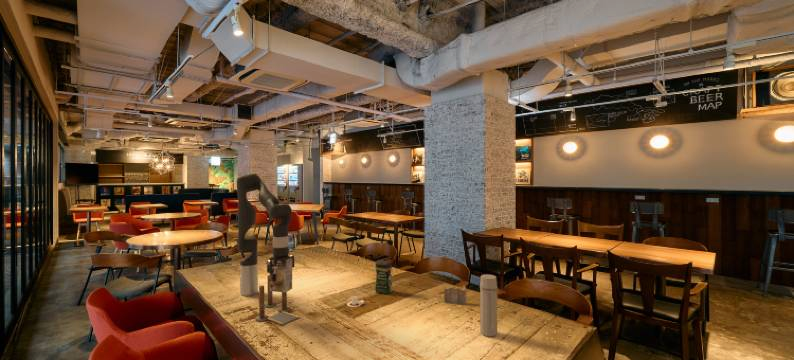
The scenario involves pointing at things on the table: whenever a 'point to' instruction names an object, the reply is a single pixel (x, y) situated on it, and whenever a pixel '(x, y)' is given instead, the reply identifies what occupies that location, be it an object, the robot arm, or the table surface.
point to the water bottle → (488, 305)
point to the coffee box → (282, 275)
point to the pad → (283, 318)
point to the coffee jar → (383, 277)
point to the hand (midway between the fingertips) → (281, 279)
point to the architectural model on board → (455, 295)
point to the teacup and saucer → (355, 302)
